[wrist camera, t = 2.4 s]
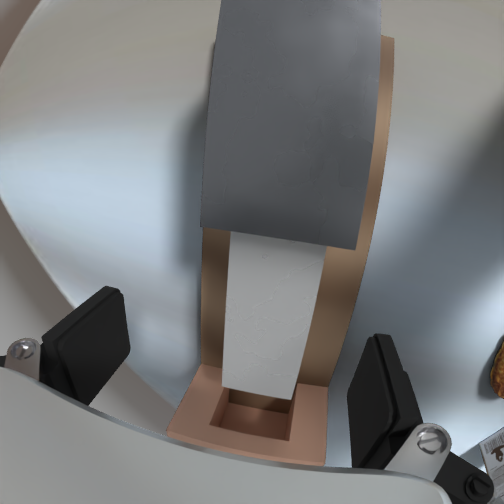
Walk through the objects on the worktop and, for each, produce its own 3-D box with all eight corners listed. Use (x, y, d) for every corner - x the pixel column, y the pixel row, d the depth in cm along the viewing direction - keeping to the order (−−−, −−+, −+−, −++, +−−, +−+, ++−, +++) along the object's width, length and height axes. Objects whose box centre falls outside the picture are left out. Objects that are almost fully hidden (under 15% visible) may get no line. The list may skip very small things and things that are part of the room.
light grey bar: (266, 44, 13) (251, 15, 9) (343, 52, 12) (351, 23, 9) (238, 345, 20) (221, 386, 16) (296, 356, 19) (290, 399, 15)
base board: (228, 29, 15) (221, 20, 13) (388, 45, 13) (394, 38, 12) (207, 398, 26) (202, 409, 24) (311, 418, 24) (310, 430, 23)
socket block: (200, 363, 22) (166, 429, 16) (327, 387, 21) (325, 462, 14) (202, 405, 24) (174, 466, 18) (312, 427, 23) (304, 493, 16)
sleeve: (253, 34, 14) (223, -13, 8) (359, 45, 13) (380, -1, 7) (237, 199, 17) (200, 226, 12) (341, 214, 16) (355, 250, 11)
